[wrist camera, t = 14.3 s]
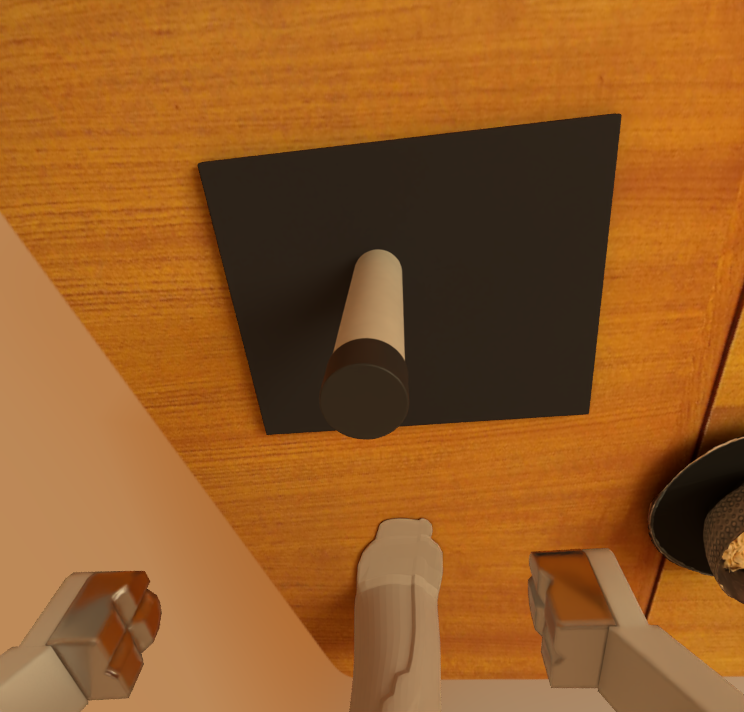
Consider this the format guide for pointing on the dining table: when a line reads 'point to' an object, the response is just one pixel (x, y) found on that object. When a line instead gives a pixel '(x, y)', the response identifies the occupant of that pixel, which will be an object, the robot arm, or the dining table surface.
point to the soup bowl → (705, 517)
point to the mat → (426, 264)
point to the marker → (369, 353)
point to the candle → (398, 621)
